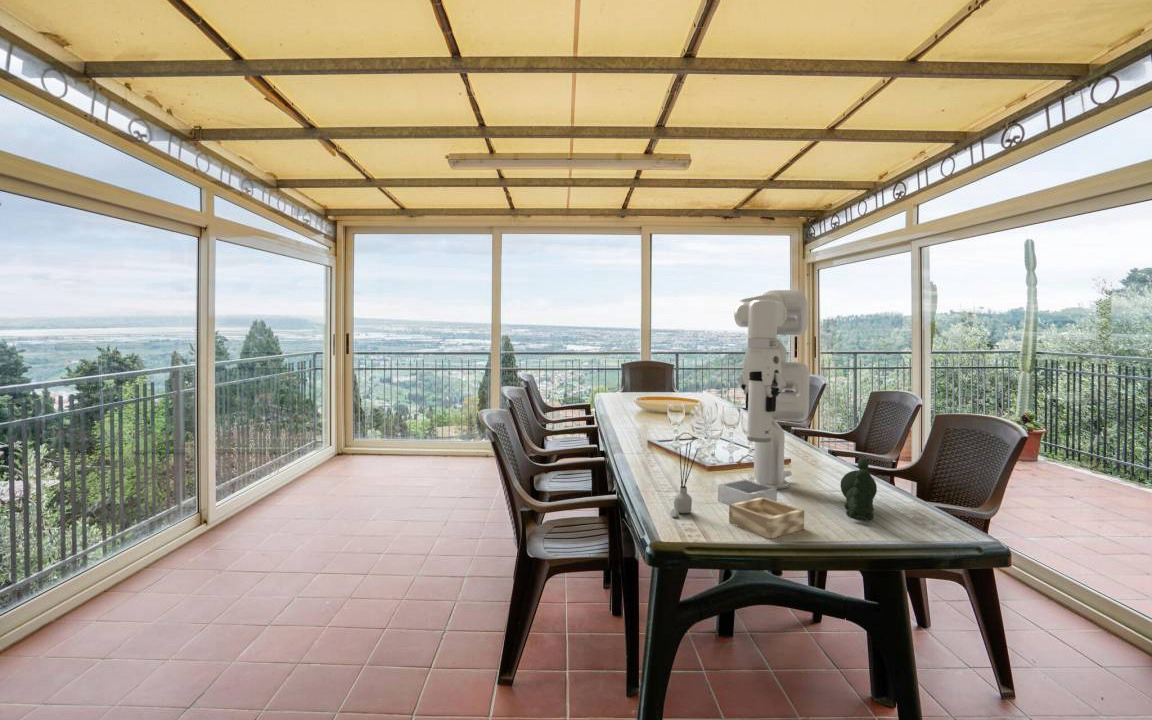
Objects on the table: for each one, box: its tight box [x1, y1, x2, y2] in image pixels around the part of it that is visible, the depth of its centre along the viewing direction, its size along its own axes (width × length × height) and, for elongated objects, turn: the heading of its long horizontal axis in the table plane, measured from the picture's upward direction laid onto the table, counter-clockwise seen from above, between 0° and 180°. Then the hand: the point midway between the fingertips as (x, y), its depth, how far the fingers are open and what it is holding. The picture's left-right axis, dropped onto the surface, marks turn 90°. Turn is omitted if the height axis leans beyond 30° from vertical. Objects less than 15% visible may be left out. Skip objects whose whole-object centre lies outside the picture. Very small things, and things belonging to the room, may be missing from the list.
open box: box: [717, 478, 778, 505], centre depth 164 cm, size 12×12×5 cm
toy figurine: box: [840, 457, 878, 521], centre depth 155 cm, size 9×19×25 cm
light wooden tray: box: [728, 497, 805, 540], centre depth 145 cm, size 13×13×5 cm
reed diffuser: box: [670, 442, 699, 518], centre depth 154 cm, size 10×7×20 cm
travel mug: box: [746, 371, 772, 443], centre depth 151 cm, size 6×7×20 cm
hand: (760, 409), depth 151 cm, fingers closed on travel mug, 6 cm apart
